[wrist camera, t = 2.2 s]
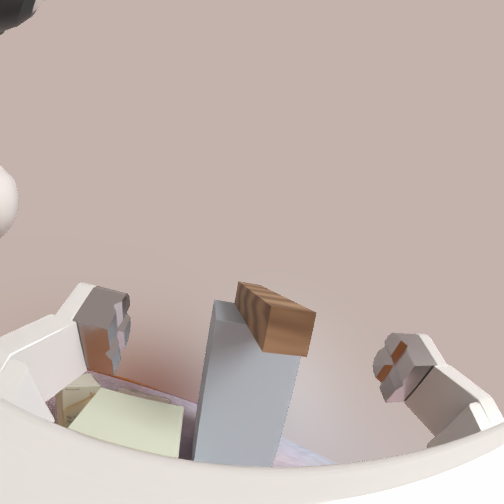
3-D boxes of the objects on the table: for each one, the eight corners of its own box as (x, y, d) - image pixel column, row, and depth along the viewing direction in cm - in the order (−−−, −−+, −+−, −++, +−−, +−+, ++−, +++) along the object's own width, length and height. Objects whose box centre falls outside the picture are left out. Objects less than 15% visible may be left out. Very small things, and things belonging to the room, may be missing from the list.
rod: (306, 356, 21) (316, 312, 22) (262, 352, 21) (271, 306, 21) (256, 306, 47) (260, 285, 47) (234, 303, 47) (238, 281, 47)
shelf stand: (261, 498, 30) (306, 332, 32) (189, 493, 29) (216, 319, 31) (247, 442, 46) (275, 309, 48) (193, 436, 45) (214, 299, 46)
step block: (170, 541, 19) (176, 457, 20) (85, 519, 18) (67, 427, 19) (175, 491, 29) (184, 406, 30) (104, 474, 28) (101, 387, 28)
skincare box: (66, 454, 28) (60, 386, 29) (58, 437, 31) (53, 372, 32) (103, 450, 33) (101, 385, 34) (92, 434, 36) (91, 372, 37)
